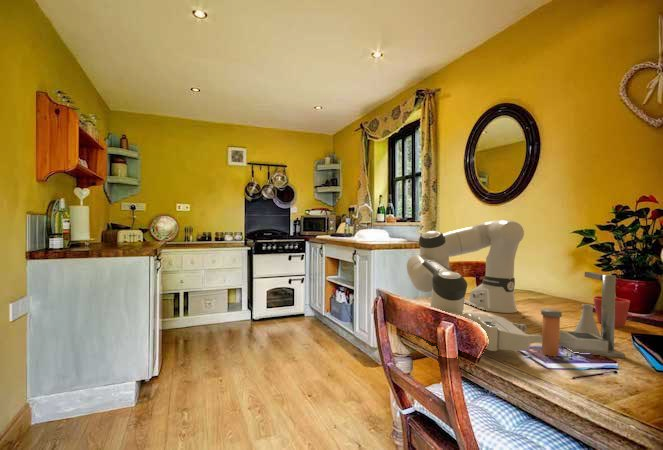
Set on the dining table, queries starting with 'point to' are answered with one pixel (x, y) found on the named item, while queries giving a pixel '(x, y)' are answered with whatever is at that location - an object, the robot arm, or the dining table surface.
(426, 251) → the robot arm
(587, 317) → the flask
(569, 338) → the grey post stand
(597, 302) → the flower pot
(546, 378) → the dining table surface
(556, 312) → the orange capped jar
